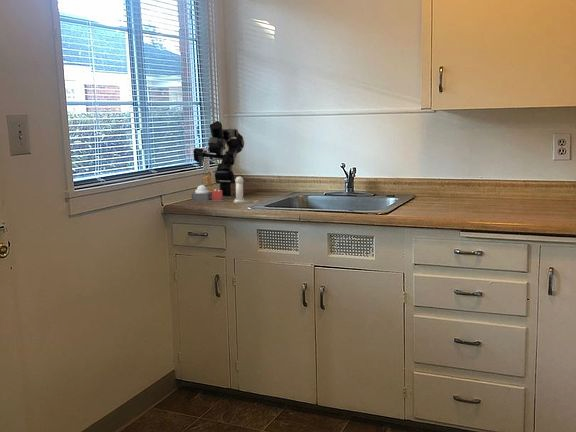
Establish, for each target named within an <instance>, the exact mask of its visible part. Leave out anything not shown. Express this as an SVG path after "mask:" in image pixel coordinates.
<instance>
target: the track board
mask: <svg viewBox="0 0 576 432" xmlns="http://www.w3.org/2000/svg"><path fill="white" fill-rule="evenodd" d="M262 202H267V200H265V199H257V200H256V199H255V200H245V202H244V203H243V204H246V203H262ZM233 203H235V202H234V201H233ZM235 204H236V203H235Z"/></svg>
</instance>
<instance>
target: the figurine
mask: <svg viewBox="0 0 576 432" xmlns="http://www.w3.org/2000/svg"><path fill="white" fill-rule="evenodd" d="M204 180H205V181H206V185H207V190H209V192H212V191H213V186H214V185H213V184H212V181H213V183H215V184H216V185H218V183H216V180H215V179H214V178H213V177H211V175H210V173H208V174H206V175H205V176H203V177H202V178H201V185H203V184H204ZM211 180H212V181H211Z"/></svg>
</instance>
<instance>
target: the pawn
mask: <svg viewBox="0 0 576 432" xmlns="http://www.w3.org/2000/svg"><path fill="white" fill-rule="evenodd" d="M244 181H245V180H244V178H243V177H242V176H240V175H239V176H236V178H235V199H234V201H233V203H234V202H235V204H245V203H244V202H245V201H246V200H245V199H244Z"/></svg>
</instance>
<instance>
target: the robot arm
mask: <svg viewBox="0 0 576 432" xmlns="http://www.w3.org/2000/svg"><path fill="white" fill-rule="evenodd" d="M209 130H210V135H211V136H210V137H209V139H208V148H207V149H208V151H204V149H203V148H198V147H195V148H194V149H193V160H194V161H195V162H197V163H198V166H199V168H201V167H202V166H203V162H204V158H209V160H213V161H220V162H221V163H217V167H216V170H215V172H214V178H215V179H214V181H215V182H216V183H217V184H219V190H222V196H223V197H232V196H233V195H234V193H232V185H233V184H236V182H235V179H236V178H235V174H234V171H233V165H235V161H236V158H237V156H238V154H239V153H241V152H242V150H243V149H244V147H245V141H244V137H243V135H241V133H240V132H239V131H238V129H237V128H228V129H225V128H223V124H222V123H221V122H220V120H219V121H218V120H217V121H215V122H212V123H210V125H209ZM226 147H227V150H226ZM224 150H226V151H225V153H224V154H223V152H224ZM216 183H215V184H216Z"/></svg>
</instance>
